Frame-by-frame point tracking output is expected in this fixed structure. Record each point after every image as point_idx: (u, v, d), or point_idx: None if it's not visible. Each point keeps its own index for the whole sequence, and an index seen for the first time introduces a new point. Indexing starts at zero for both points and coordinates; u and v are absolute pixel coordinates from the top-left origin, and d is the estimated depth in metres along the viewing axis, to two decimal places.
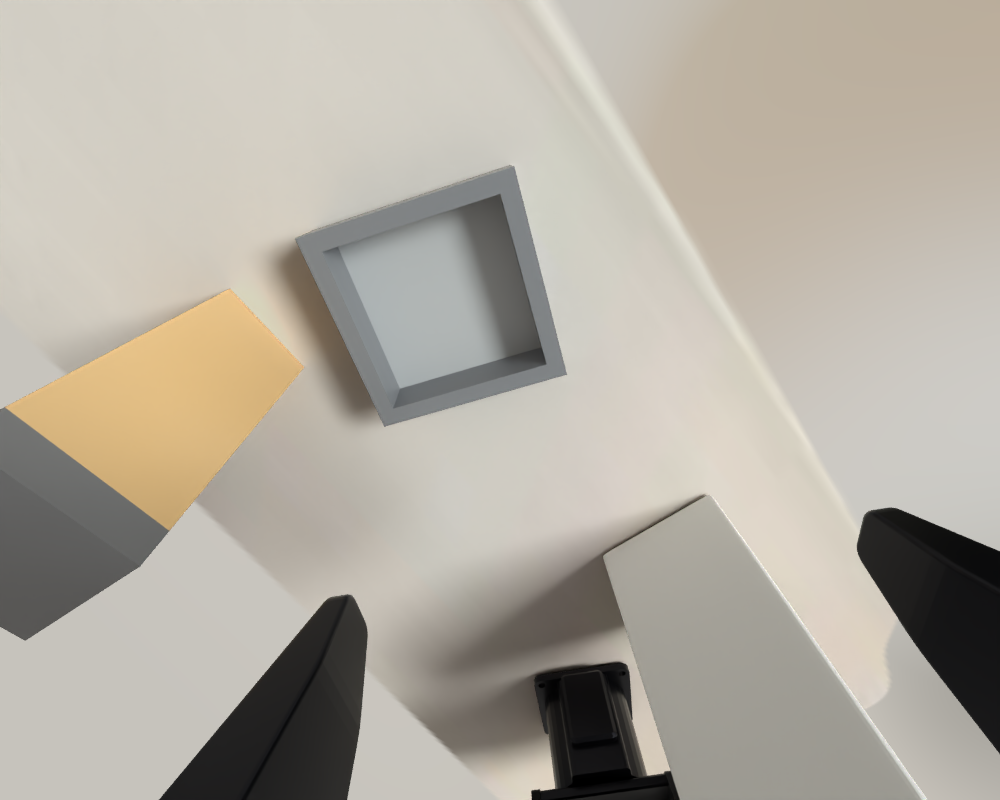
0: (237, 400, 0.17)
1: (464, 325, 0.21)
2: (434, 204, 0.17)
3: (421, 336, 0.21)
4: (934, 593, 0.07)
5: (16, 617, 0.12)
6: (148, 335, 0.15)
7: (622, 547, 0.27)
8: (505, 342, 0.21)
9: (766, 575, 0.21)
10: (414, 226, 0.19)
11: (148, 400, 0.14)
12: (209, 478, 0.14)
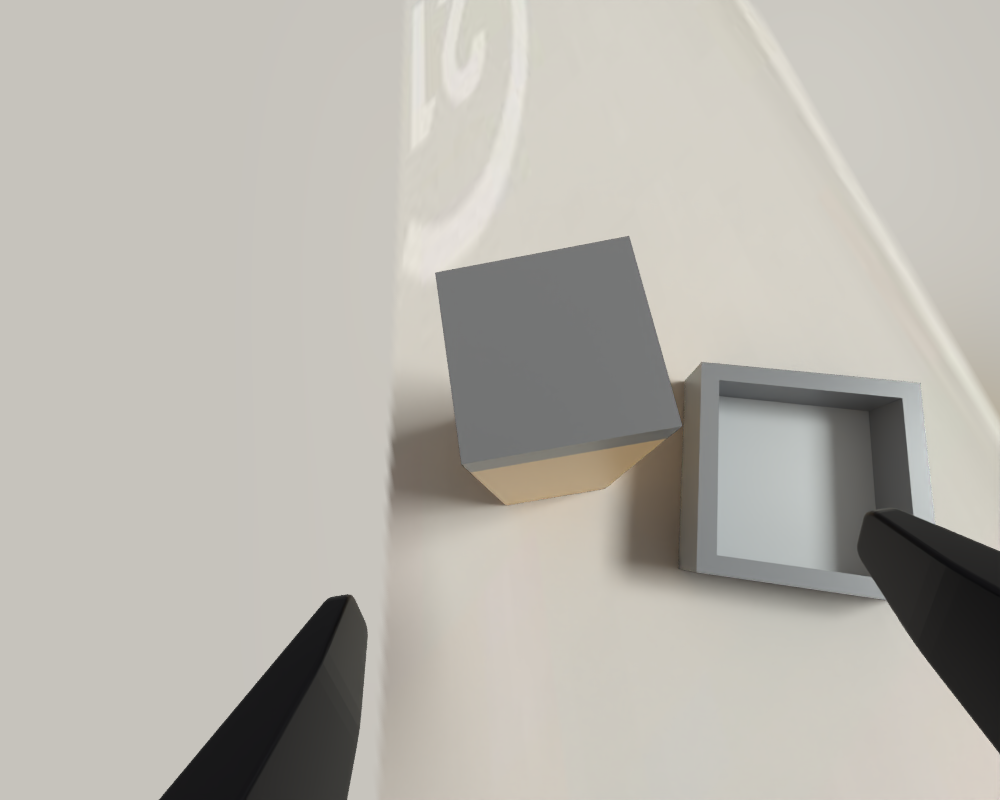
0: None
1: (798, 516, 0.19)
2: (836, 383, 0.19)
3: (747, 507, 0.20)
4: (934, 593, 0.07)
5: (487, 428, 0.10)
6: None
7: None
8: (839, 554, 0.19)
9: None
10: (780, 408, 0.21)
11: None
12: (645, 452, 0.13)
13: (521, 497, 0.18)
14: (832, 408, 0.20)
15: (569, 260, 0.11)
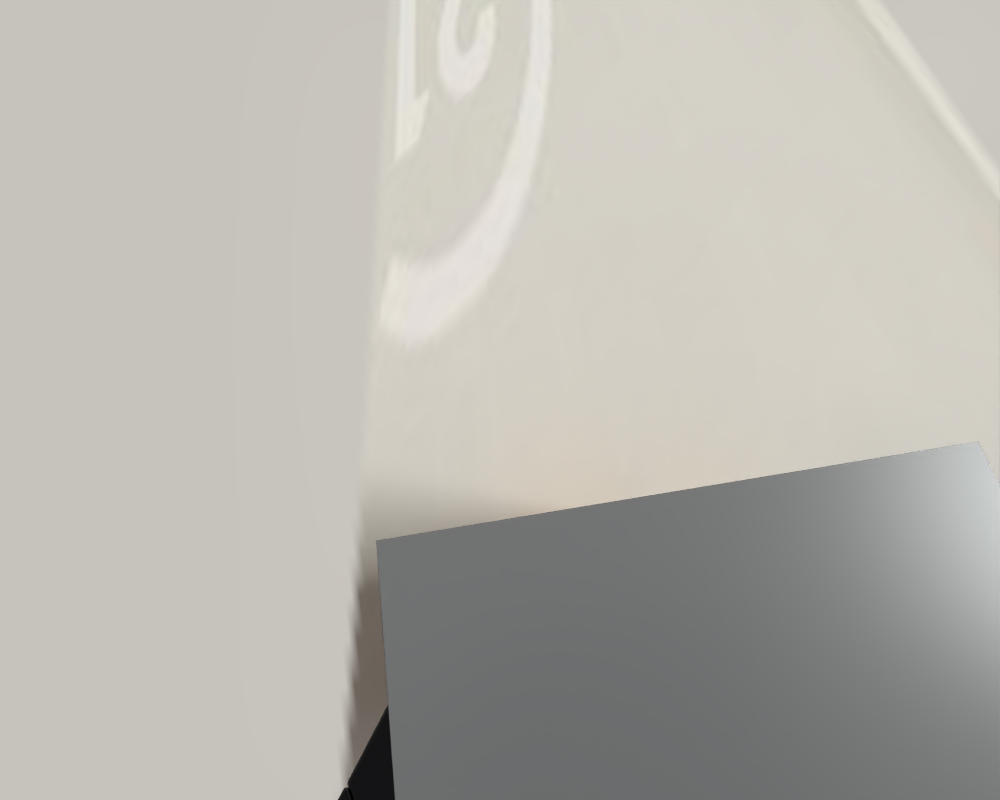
0: None
1: None
2: None
3: None
4: None
5: None
6: None
7: None
8: None
9: None
10: None
11: None
12: None
13: None
14: None
15: (794, 519, 0.03)
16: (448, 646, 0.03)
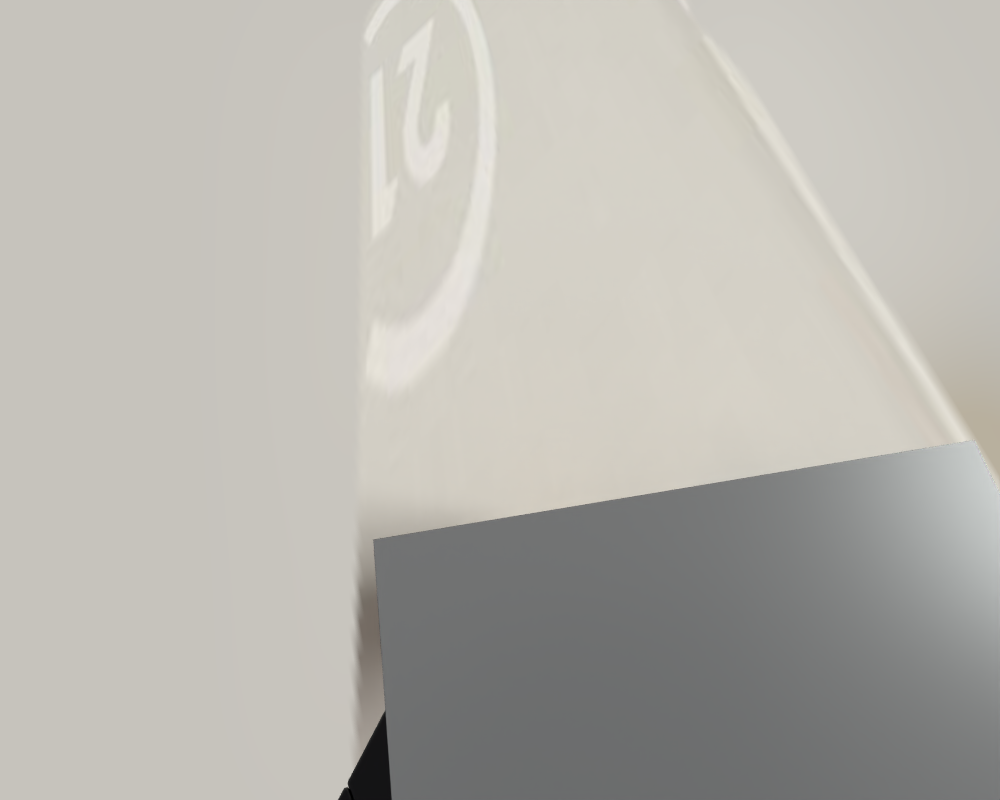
0: None
1: None
2: None
3: None
4: None
5: None
6: None
7: None
8: None
9: None
10: None
11: None
12: None
13: None
14: None
15: (790, 516, 0.03)
16: (445, 644, 0.03)
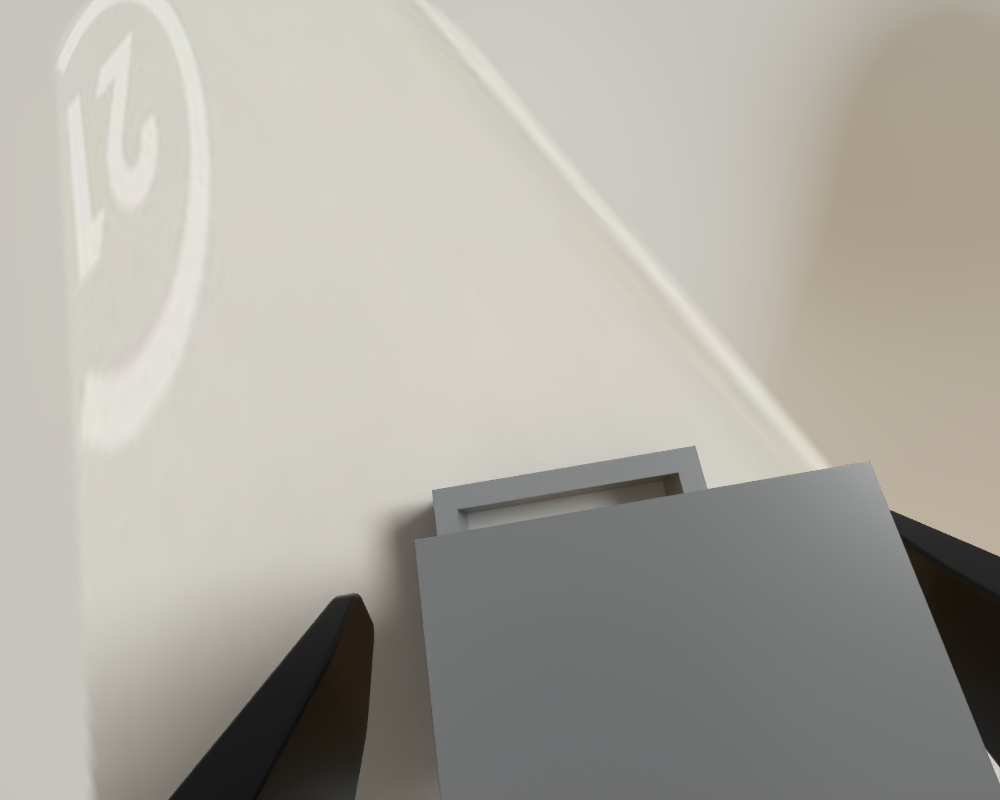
0: None
1: None
2: (598, 473, 0.15)
3: None
4: (925, 594, 0.07)
5: None
6: None
7: None
8: None
9: None
10: (561, 506, 0.16)
11: None
12: None
13: None
14: (620, 488, 0.16)
15: (730, 519, 0.04)
16: (470, 618, 0.04)
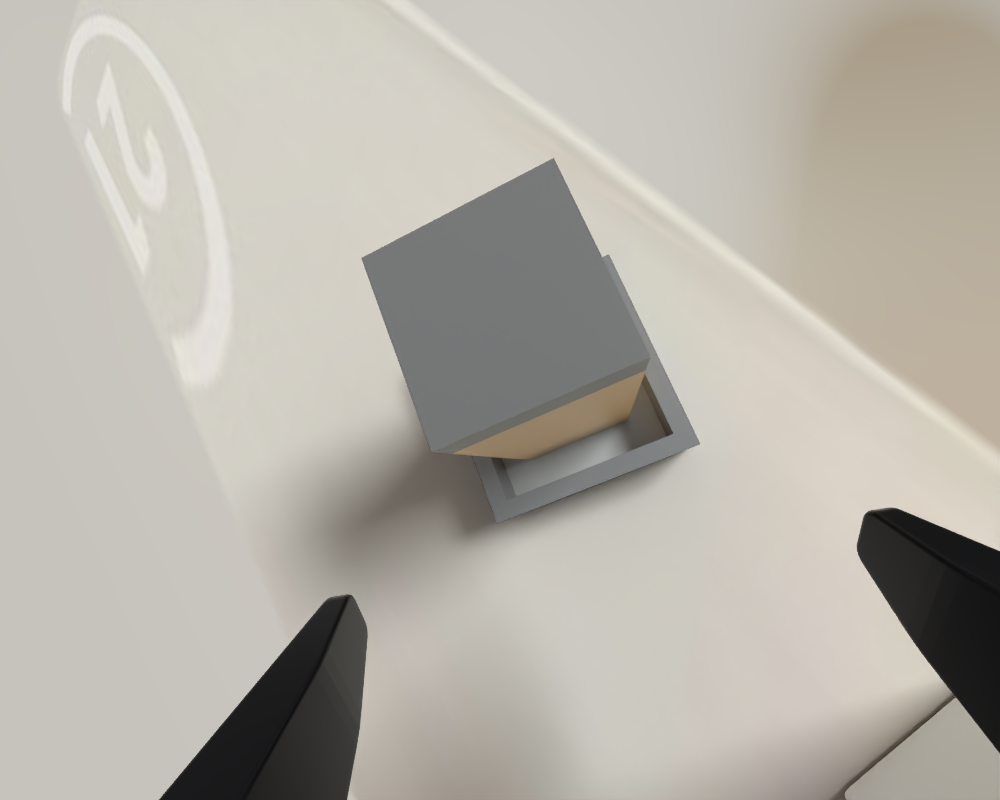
0: None
1: None
2: None
3: None
4: (934, 593, 0.07)
5: (448, 409, 0.09)
6: None
7: (874, 773, 0.16)
8: (626, 434, 0.20)
9: None
10: None
11: None
12: (638, 385, 0.12)
13: (540, 451, 0.18)
14: None
15: (494, 204, 0.09)
16: (391, 280, 0.10)
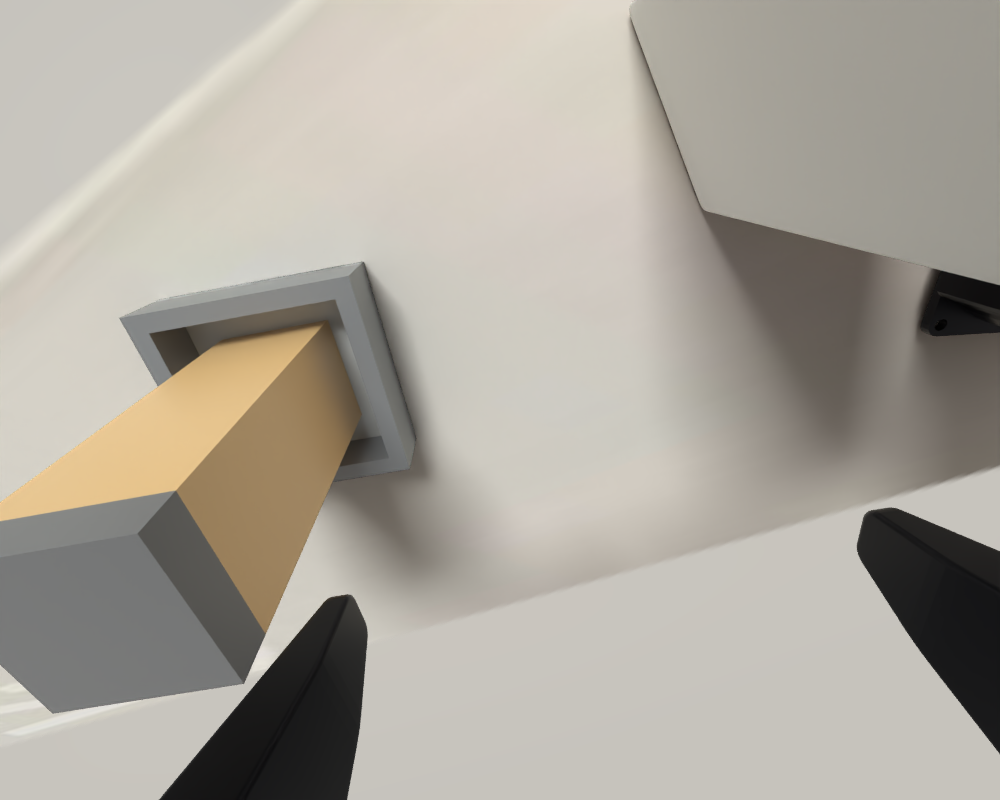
0: (249, 377, 0.14)
1: None
2: None
3: None
4: (934, 593, 0.07)
5: (203, 670, 0.10)
6: (132, 407, 0.14)
7: (693, 178, 0.17)
8: (343, 324, 0.19)
9: None
10: None
11: (136, 436, 0.12)
12: (225, 432, 0.11)
13: (341, 429, 0.18)
14: (197, 349, 0.19)
15: None
16: (74, 696, 0.10)
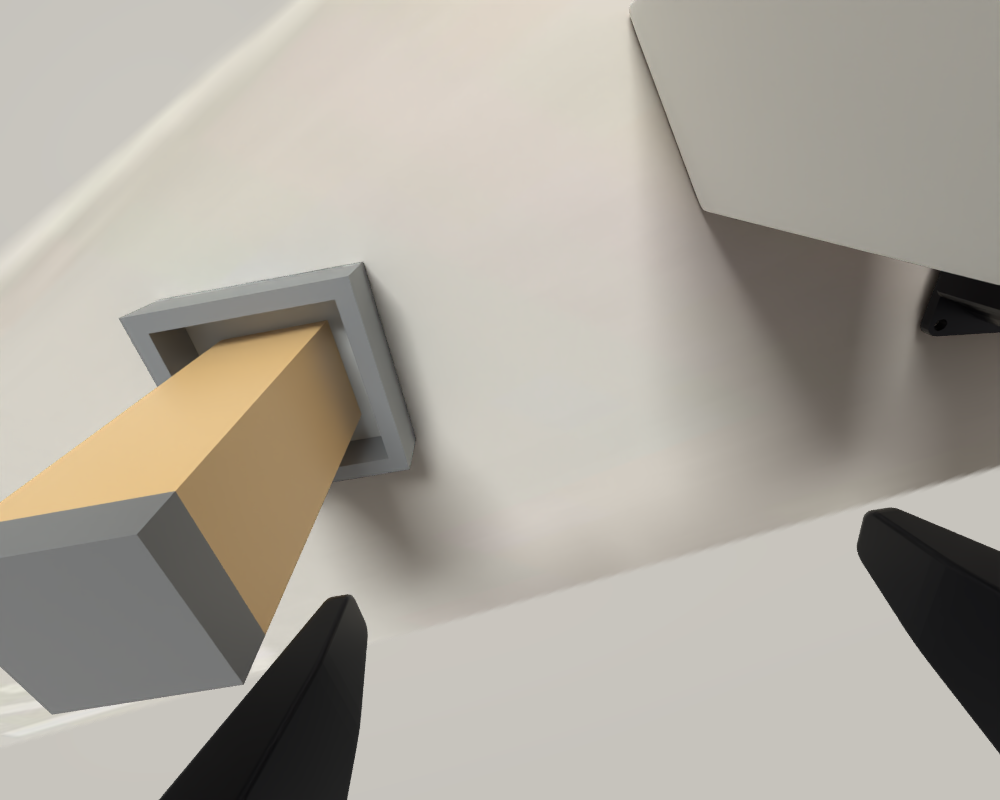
0: (248, 378, 0.14)
1: None
2: None
3: None
4: (934, 593, 0.07)
5: (202, 671, 0.10)
6: (132, 407, 0.14)
7: (692, 179, 0.17)
8: (342, 324, 0.19)
9: None
10: None
11: (135, 436, 0.12)
12: (224, 433, 0.11)
13: (340, 429, 0.18)
14: (197, 350, 0.19)
15: None
16: (73, 697, 0.10)
